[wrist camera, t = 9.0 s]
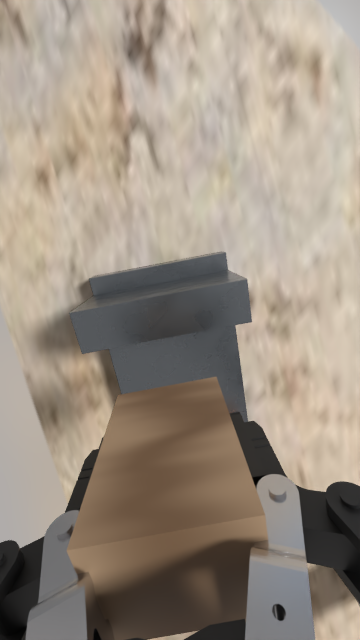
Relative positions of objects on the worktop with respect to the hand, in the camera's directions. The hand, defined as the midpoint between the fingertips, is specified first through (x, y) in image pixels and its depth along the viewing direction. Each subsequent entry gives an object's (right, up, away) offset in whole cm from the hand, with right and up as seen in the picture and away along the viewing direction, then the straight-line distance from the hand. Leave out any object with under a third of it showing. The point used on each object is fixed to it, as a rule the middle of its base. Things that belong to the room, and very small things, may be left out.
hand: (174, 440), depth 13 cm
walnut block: (0, 0, +1) cm, 1 cm away
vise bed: (0, 0, +16) cm, 16 cm away
